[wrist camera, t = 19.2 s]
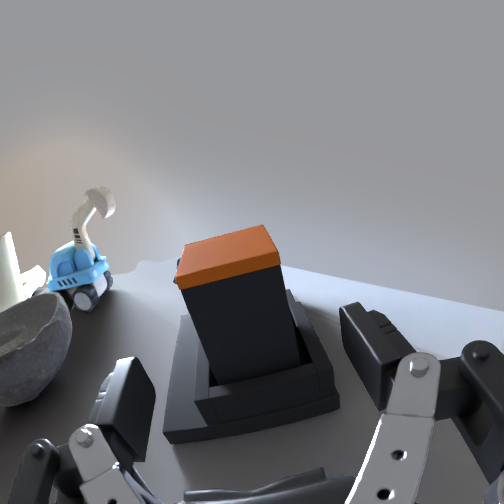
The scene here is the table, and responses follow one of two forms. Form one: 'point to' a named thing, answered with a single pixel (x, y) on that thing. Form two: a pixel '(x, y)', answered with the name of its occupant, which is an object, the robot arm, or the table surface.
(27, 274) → the stone
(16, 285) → the plant pot
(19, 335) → the bowl
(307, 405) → the dark square socket base
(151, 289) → the table surface
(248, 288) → the black and orange block
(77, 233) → the toy excavator
